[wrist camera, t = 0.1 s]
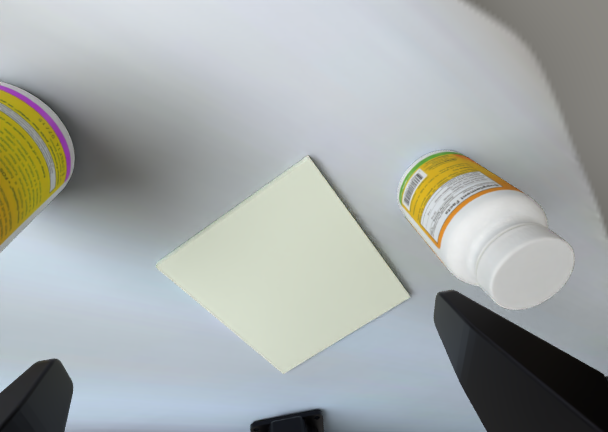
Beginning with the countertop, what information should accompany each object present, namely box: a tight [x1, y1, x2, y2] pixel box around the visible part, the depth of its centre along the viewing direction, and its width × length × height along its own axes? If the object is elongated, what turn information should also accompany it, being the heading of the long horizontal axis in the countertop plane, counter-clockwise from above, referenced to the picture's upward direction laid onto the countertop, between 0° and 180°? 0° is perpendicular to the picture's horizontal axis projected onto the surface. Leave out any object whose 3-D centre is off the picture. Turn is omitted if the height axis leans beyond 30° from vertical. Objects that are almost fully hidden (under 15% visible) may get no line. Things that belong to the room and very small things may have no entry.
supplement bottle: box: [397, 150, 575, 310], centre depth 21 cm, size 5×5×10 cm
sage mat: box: [156, 156, 410, 374], centre depth 27 cm, size 12×14×1 cm
